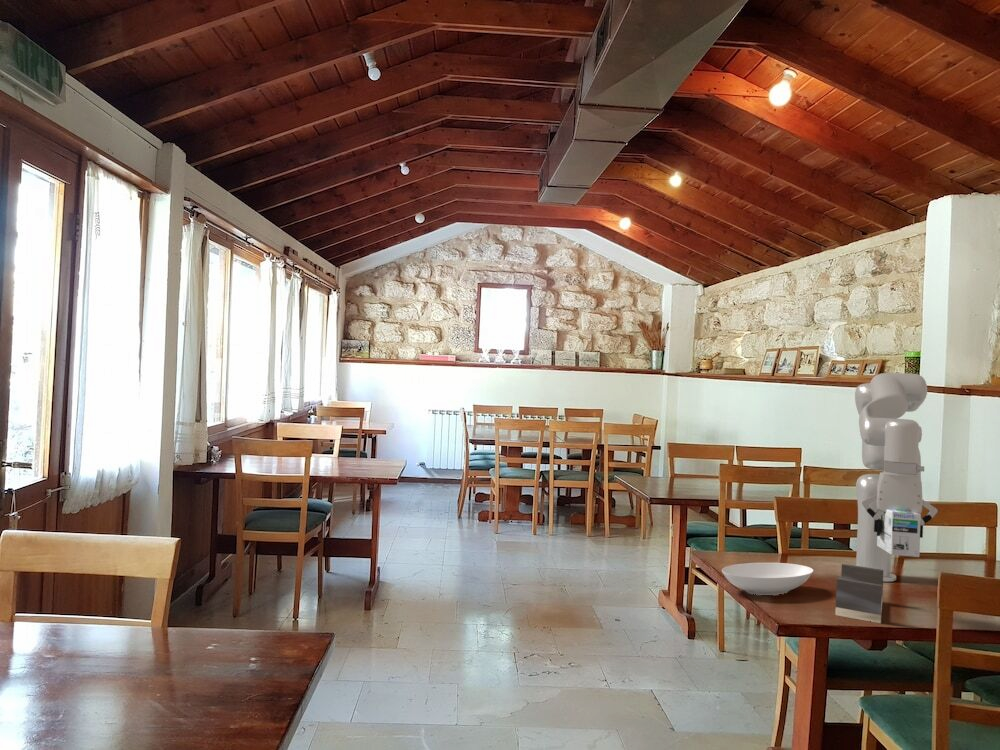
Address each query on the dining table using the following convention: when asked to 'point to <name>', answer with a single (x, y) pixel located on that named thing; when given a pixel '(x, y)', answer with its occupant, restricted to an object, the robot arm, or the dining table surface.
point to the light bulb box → (900, 533)
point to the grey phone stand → (859, 593)
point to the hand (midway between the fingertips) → (897, 537)
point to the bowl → (767, 577)
